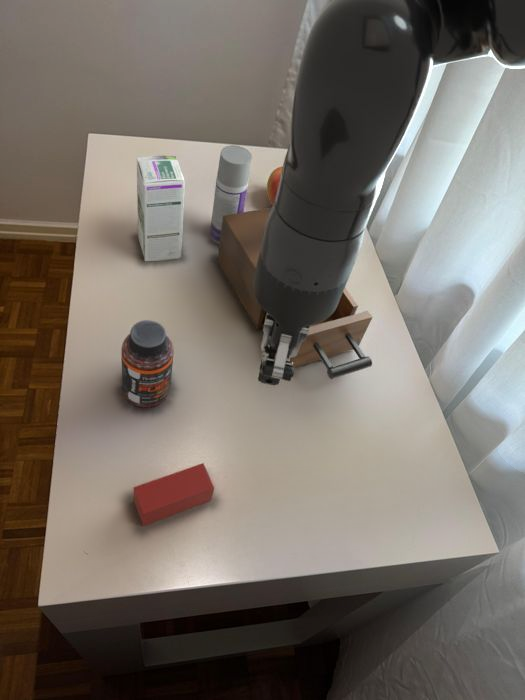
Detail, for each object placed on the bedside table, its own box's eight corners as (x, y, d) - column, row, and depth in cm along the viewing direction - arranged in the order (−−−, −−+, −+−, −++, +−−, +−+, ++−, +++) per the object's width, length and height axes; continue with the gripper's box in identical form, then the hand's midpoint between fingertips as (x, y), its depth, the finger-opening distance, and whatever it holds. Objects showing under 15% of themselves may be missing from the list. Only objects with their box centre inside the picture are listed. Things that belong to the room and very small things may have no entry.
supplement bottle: (139, 417, 70) (138, 363, 61) (113, 383, 72) (109, 326, 63) (179, 395, 73) (185, 339, 64) (153, 363, 75) (155, 305, 66)
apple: (261, 192, 101) (269, 152, 95) (301, 195, 102) (311, 156, 96) (265, 220, 96) (274, 180, 90) (307, 222, 98) (318, 183, 92)
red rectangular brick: (200, 476, 67) (203, 462, 64) (211, 500, 65) (214, 487, 62) (133, 500, 63) (133, 487, 61) (142, 526, 62) (142, 514, 59)
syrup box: (181, 259, 88) (188, 179, 76) (143, 263, 86) (143, 182, 74) (173, 233, 91) (178, 154, 79) (136, 237, 89) (135, 155, 78)
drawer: (378, 378, 79) (395, 348, 73) (306, 402, 74) (319, 372, 69) (313, 281, 88) (324, 248, 83) (246, 297, 84) (253, 264, 78)
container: (227, 222, 94) (239, 141, 83) (244, 239, 93) (259, 159, 81) (204, 231, 92) (213, 149, 80) (221, 249, 90) (233, 168, 79)
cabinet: (331, 309, 86) (347, 268, 80) (256, 328, 82) (266, 287, 75) (287, 244, 94) (299, 202, 87) (216, 259, 89) (222, 215, 82)
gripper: (348, 326, 42) (296, 441, 55) (356, 214, 50) (309, 337, 64) (247, 303, 41) (220, 424, 55) (272, 194, 50) (243, 322, 63)
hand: (268, 377), depth 59 cm, fingers closed
